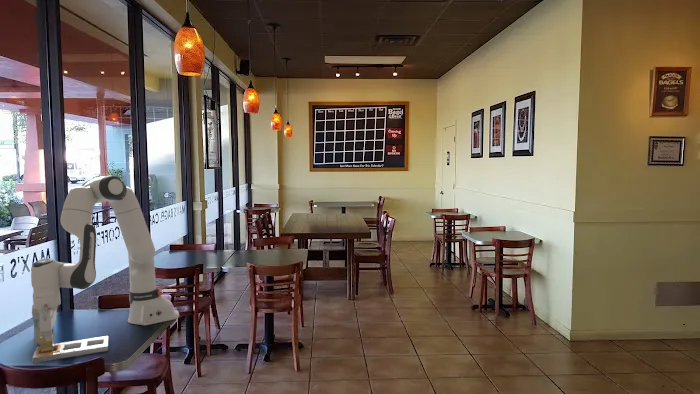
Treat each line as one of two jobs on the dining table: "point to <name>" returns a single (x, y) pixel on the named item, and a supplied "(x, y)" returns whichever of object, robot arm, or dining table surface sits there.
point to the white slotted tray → (63, 353)
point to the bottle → (36, 325)
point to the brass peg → (46, 344)
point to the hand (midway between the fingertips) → (49, 336)
